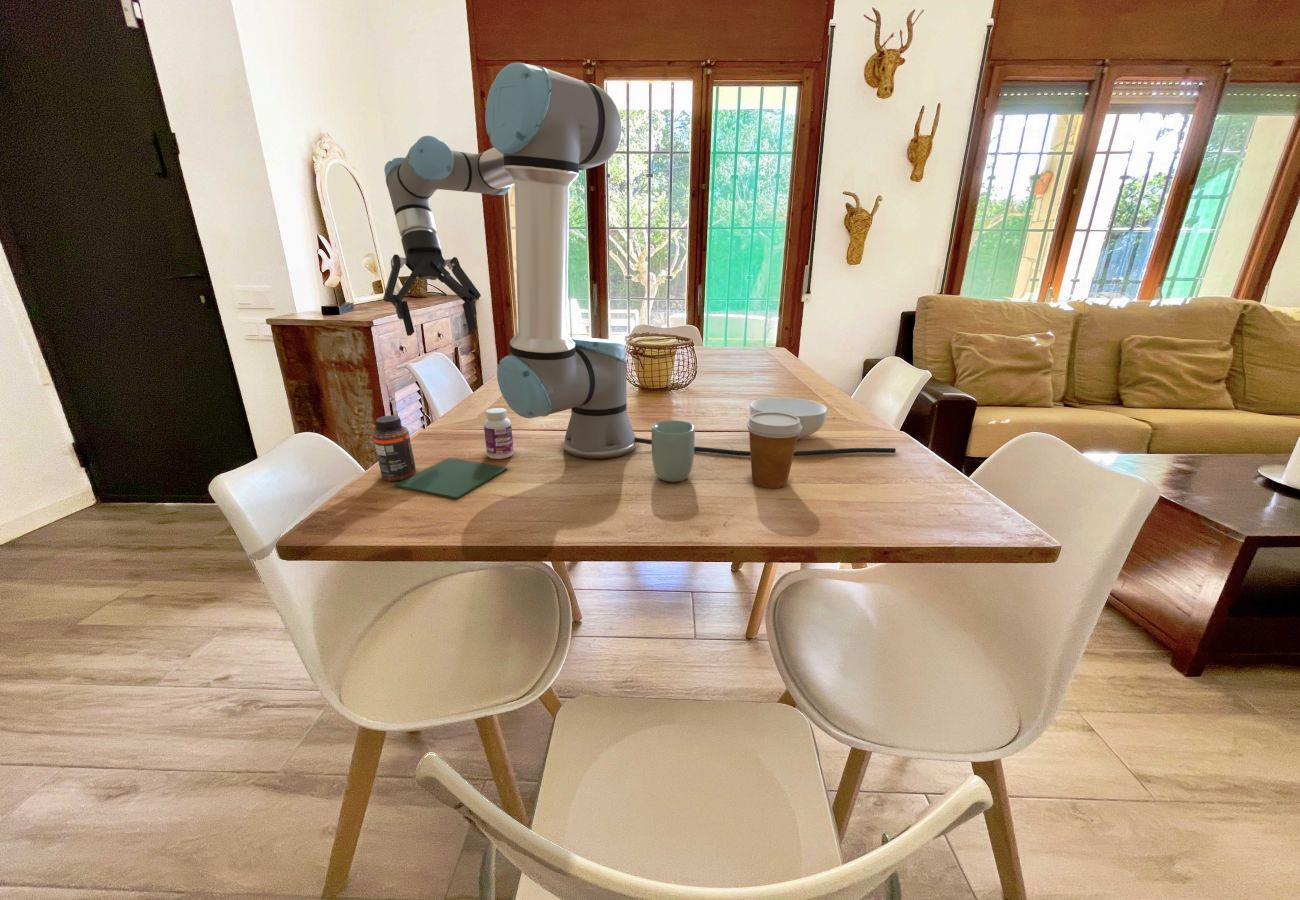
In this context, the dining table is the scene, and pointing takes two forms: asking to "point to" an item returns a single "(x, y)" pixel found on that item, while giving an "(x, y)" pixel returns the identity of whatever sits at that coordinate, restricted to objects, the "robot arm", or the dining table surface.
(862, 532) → the dining table surface
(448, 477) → the green mat
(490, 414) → the pill bottle
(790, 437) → the disposable coffee cup
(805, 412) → the cereal bowl
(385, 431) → the supplement bottle
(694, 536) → the dining table surface
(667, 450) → the cup
